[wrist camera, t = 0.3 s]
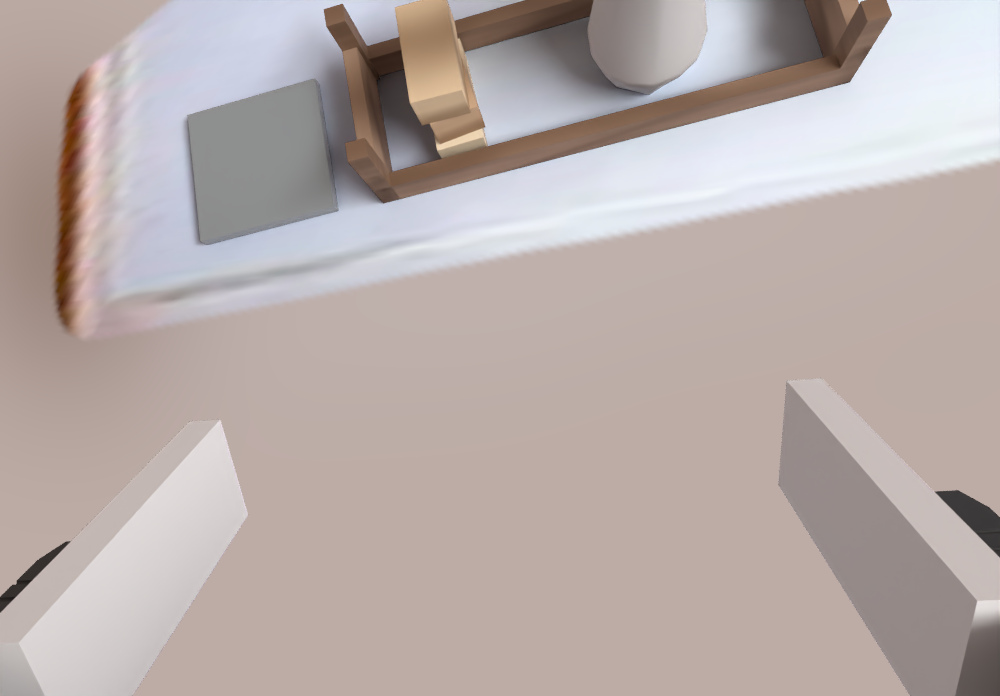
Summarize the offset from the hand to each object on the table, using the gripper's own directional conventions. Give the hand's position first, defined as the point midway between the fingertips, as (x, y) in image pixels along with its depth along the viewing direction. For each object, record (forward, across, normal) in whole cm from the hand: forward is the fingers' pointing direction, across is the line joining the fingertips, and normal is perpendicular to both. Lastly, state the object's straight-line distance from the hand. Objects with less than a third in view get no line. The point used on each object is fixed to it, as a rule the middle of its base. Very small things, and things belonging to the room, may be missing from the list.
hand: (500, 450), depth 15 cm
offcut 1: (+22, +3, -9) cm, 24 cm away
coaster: (+25, +14, -5) cm, 29 cm away
